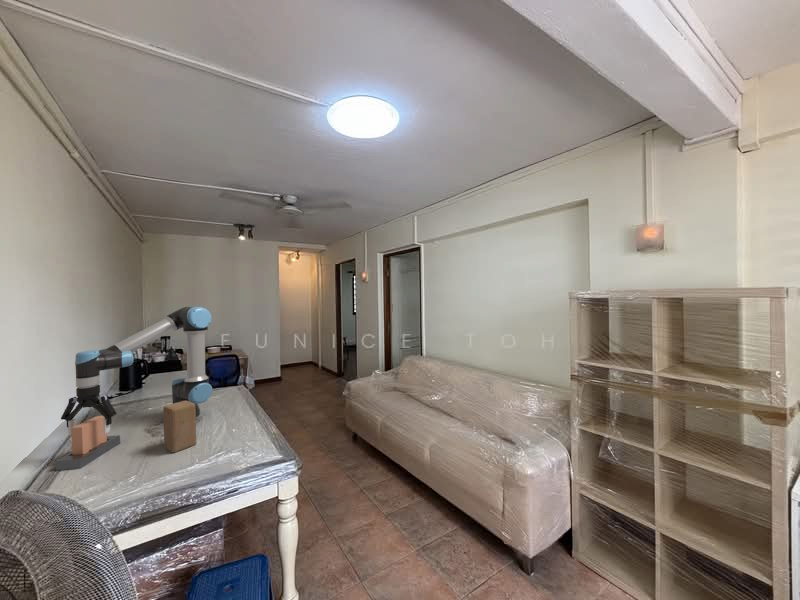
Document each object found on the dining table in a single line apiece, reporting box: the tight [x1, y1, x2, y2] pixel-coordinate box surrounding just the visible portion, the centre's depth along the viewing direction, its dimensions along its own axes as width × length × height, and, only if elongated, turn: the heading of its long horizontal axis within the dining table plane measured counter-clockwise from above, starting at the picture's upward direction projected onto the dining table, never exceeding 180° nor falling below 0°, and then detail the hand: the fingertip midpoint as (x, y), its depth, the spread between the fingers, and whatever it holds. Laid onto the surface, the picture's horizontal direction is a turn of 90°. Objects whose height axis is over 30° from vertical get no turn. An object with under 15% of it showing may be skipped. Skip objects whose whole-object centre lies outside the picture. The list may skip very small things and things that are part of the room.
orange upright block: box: [71, 415, 108, 456], centre depth 140 cm, size 4×13×14 cm, turn 8°
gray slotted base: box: [54, 435, 121, 472], centre depth 140 cm, size 9×22×4 cm, turn 8°
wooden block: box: [162, 401, 197, 453], centre depth 148 cm, size 10×10×20 cm
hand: (89, 433), depth 140 cm, fingers open, 13 cm apart
